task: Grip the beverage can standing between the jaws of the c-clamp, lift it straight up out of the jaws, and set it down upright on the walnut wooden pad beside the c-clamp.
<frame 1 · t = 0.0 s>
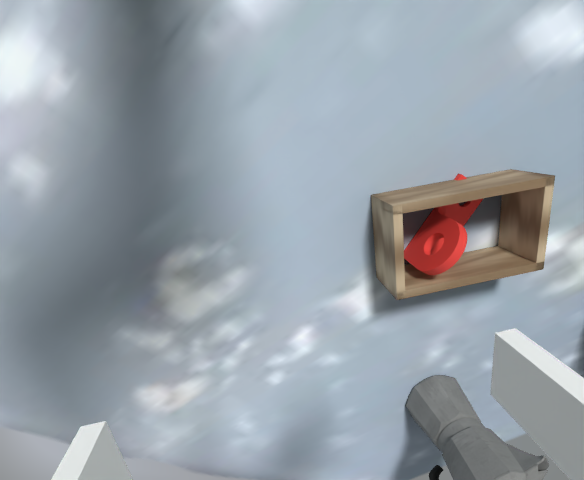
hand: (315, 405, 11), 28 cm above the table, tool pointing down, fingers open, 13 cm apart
coffeepot: (427, 401, 51), on the table
crate frame: (441, 224, 41), on the table
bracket: (438, 223, 42), on the table, touching crate frame
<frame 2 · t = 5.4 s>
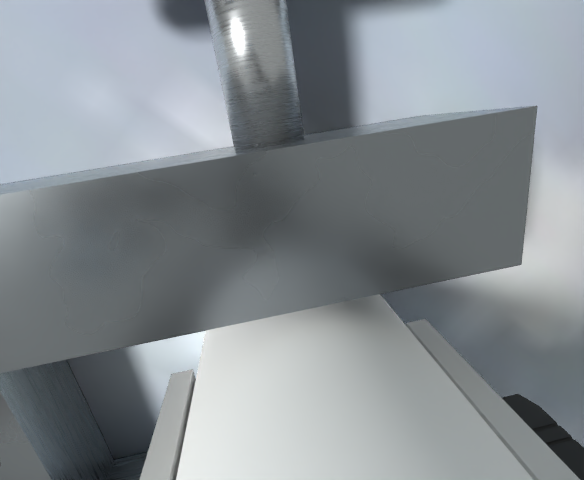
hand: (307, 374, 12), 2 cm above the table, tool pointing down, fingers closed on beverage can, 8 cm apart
beverage can: (297, 335, 15), on the table, touching gripper
c-clamp: (298, 338, 14), on the table
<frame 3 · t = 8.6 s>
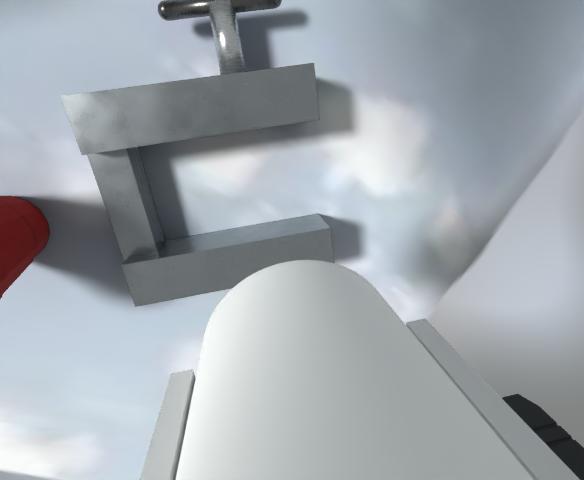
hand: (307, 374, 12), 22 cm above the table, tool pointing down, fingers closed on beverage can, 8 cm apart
beverage can: (297, 335, 15), point 19 cm above the table, touching gripper
c-clamp: (252, 179, 31), on the table
plastic cup: (16, 228, 30), on the table
when the fingers open (5 cm above the table, at t = 11.7 s): beverage can drops 1 cm, resting on pad.
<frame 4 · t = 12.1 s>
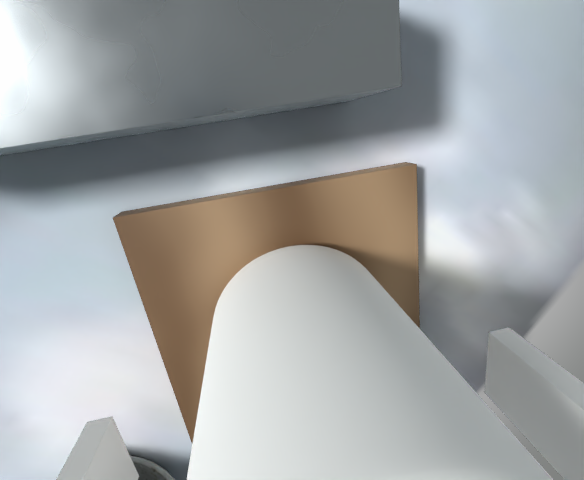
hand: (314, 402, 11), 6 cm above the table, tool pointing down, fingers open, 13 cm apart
beverage can: (298, 315, 16), point 1 cm above the table, touching pad
pad: (290, 309, 17), on the table
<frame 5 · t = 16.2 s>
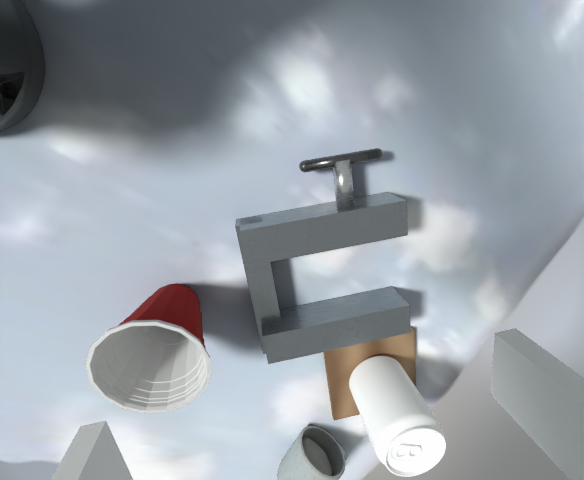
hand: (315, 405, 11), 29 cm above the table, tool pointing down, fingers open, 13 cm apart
beverage can: (374, 375, 47), point 1 cm above the table, touching pad
c-clamp: (346, 264, 42), on the table
ceramic mug: (312, 443, 51), on the table
pad: (370, 372, 48), on the table
plastic cup: (176, 305, 40), on the table
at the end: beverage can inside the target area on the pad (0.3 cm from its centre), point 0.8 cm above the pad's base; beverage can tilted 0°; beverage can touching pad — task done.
